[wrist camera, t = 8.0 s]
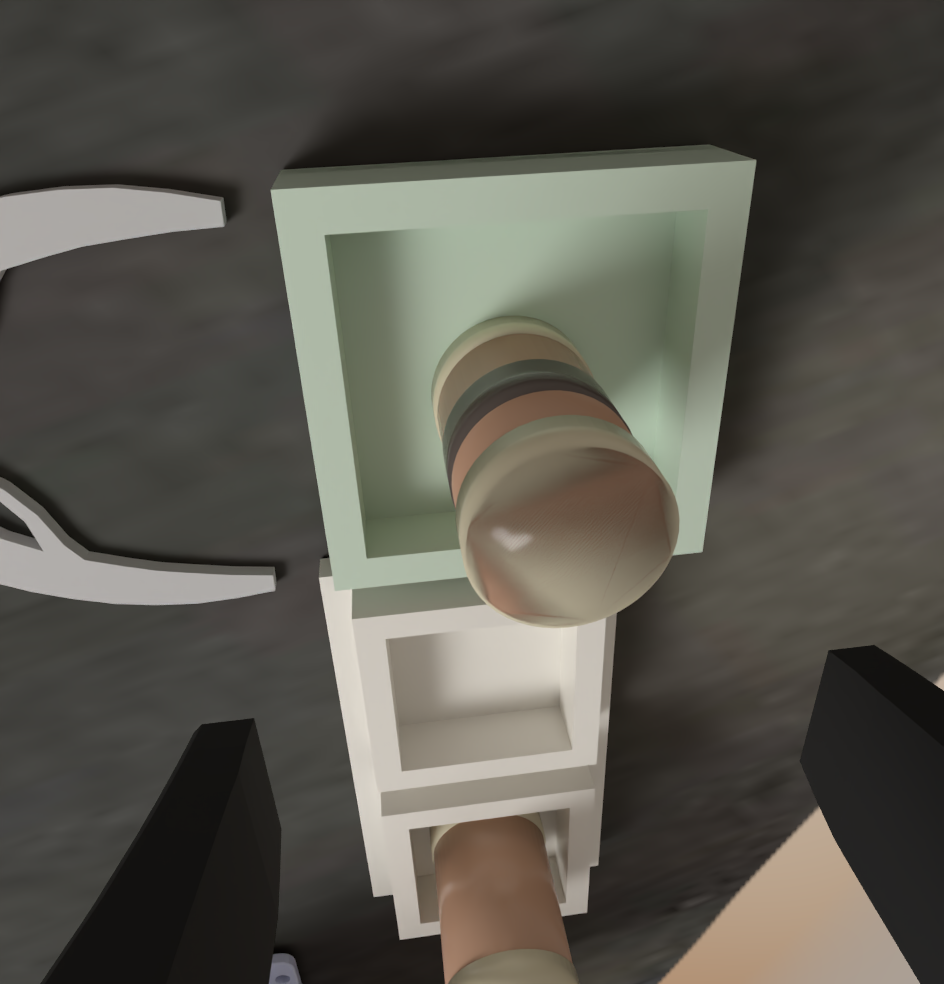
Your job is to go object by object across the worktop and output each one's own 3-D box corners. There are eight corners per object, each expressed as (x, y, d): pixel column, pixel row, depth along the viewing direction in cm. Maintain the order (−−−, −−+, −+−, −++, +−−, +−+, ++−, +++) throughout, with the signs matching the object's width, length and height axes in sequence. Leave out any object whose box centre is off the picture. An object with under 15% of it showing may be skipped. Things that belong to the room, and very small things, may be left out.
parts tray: (670, 503, 20) (702, 552, 18) (337, 537, 20) (334, 591, 18) (709, 144, 16) (756, 159, 14) (281, 169, 15) (270, 190, 13)
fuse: (538, 848, 26) (584, 1052, 21) (432, 863, 25) (451, 1073, 20) (539, 777, 24) (588, 981, 19) (425, 792, 24) (444, 1003, 19)
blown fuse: (583, 454, 19) (668, 616, 13) (435, 467, 18) (466, 638, 13) (588, 309, 17) (691, 433, 12) (426, 322, 16) (457, 454, 11)
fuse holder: (592, 844, 27) (611, 910, 25) (373, 874, 27) (374, 945, 25) (612, 528, 21) (641, 584, 19) (320, 559, 20) (315, 620, 18)
